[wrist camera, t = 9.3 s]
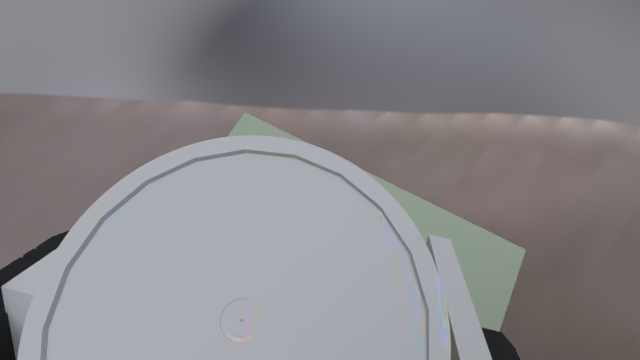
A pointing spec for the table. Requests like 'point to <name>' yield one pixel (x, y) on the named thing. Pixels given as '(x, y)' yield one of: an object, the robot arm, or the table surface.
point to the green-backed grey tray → (467, 239)
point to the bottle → (241, 265)
